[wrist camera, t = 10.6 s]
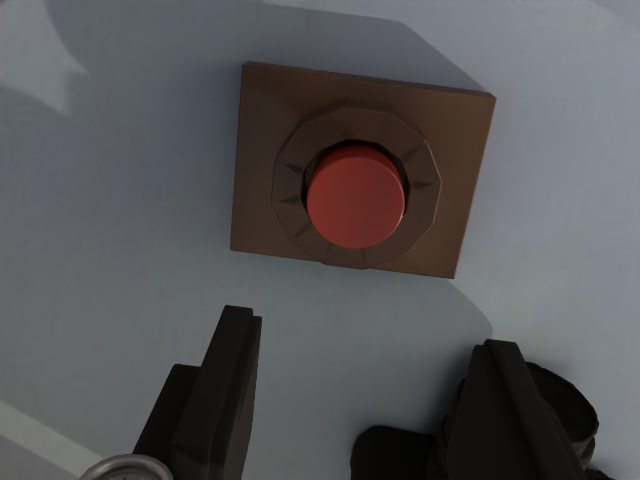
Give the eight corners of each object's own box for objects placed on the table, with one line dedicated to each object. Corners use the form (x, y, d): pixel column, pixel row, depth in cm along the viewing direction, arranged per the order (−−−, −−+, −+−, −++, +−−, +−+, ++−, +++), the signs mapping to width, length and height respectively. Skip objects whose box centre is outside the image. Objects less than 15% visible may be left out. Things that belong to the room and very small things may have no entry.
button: (304, 225, 24) (301, 242, 23) (315, 139, 23) (312, 150, 21) (392, 237, 24) (395, 255, 23) (408, 151, 23) (412, 163, 21)
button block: (234, 240, 28) (221, 268, 25) (246, 60, 24) (233, 70, 22) (450, 267, 28) (461, 299, 25) (490, 92, 25) (508, 106, 22)
